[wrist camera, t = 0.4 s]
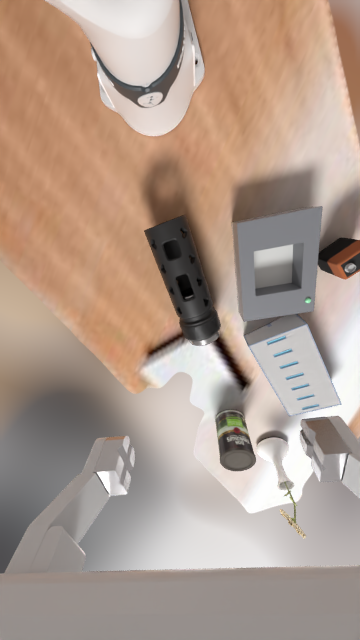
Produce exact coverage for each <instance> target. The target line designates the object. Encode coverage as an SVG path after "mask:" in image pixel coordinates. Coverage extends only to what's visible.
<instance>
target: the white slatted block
mask: <svg viewBox="0 0 360 640" xmlns="http://www.w3.org/2000/svg"><path fill="white" fill-rule="evenodd" d="M244 338H245V340H246V342H247V345H248V347H249V348H250V350H251V352H252V353H253V355H254V357H255V359H256V360H257V362H258V364H259V365H260V367H261V369H262V371H263V372H264V374H265V376H266V377H267V379H268V381H269V383H270V384H271V386H272V388H273V389H274V391H275V393H276V395H277V396H278V398H279V400H280V401H281V403H282V405H283V407H284V408H285V410H286V412H287V413H288V415H289V416H293V415H297V414H302V413H306V412H310V411H315V410H319V409H323V408H328V407H332V406H336V405H341V402H340V399H339V397H338V395H337V392H336V390H335V388H334V385H333V383H332V381H331V378H330V376H329V374H328V371H327V369H326V367H325V364H324V362H323V360H322V357H321V355H320V353H319V350H318V348H317V345H316V343H315V341H314V338H313V336H312V334H311V331H310V329H309V327H308V324H307V323H306V322H305V321H304V320H303V319H302V318H301V317H299V316H298V315H297V314H292V315H286V316H284V317H282V318H280V319H278V320H275V321H273V322H271V323H270V324H268V325H265V326H263V327H261V328H259V329H257V330H255V331H253V332H251V333H249V334H247V335H245V336H244Z"/></svg>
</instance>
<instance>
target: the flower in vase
mask: <svg viewBox="0 0 360 640" xmlns="http://www.w3.org/2000/svg"><path fill="white" fill-rule="evenodd" d="M288 450H289V446H288V443H287V442H286V441H284V440H283V439H281V438H276V437H272V438H267V439H264V440H262V441H261V442H260V443H259V444H258V446H257V453H258V454H259V456H260V457H262V458H263V459H265V460H268V461H270V462H272V463H274V465H275V467H276V470H277V473H278V478H279V482H278V488H279V489H281V490H288V493H287V494H286V495H284V496H287V495H288V494H290V496H291V497H290V499H291V500H292V502H293V503H294V518H291V517H290V516H289V515H288V514H287V513H286V512H285V511H283V510H282V509H280V512H281V513H282V516H283V517H285V518H286V519H287V520H288V523H289V524H290V525H291V526H293V527H294V528H295V529H296V531H297V533H298V534H299V535H300V534H301V536H303V538H305V537H306V535H305V534H304V532H303V531H302V530H301V528H300V527H299V526H298V525H297V524H296V509H295V505H296V503H295V502H294V500H293V498H292V495H291V493H290V492H291V491H289V489H292V488H293V487H294V483H293V482H291V481H290V480H289V478H288V477H287V475H286V474H285V472H284V469H283V467H282V460H283V458H284V457H285V456H286V455H287V453H288ZM296 506H297V505H296Z"/></svg>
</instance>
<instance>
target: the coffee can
mask: <svg viewBox="0 0 360 640" xmlns="http://www.w3.org/2000/svg"><path fill="white" fill-rule="evenodd" d="M215 422H216V429H217V437H218V445H219V453H220V463H221V465H222V466H223V467H224V468H226V469H228V470H231V471H244V470H247V469H249V468H251V467H252V466H253V465H254V464H255V462H256V457H255V455H254V452H253V448H252V444H251V441H250V437H249V433H248V430H247V426H246V422H245V418H244V415H243V414H242V413H241V412H239V411H236V410H225V411H222V412H220V413H219V414H218V415H217V416H216V419H215Z"/></svg>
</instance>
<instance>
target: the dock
mask: <svg viewBox="0 0 360 640" xmlns="http://www.w3.org/2000/svg"><path fill="white" fill-rule="evenodd" d="M321 218H322V206H319V207H305V208H300V209H296V210H291V211H286V212H281V213H276V214H271V215H266V216H261V217H256V218H251V219H246V220H241V221H236V222H231V223H232V235H233V248H234V260H235V273H236V285H237V298H238V310H239V313H240V315H241V317H242V319H243V321H244V322H245V321H252V320H258V319H265V318H272V317H278V316H285V315H292V314H298V313H305V312H311V311H314V301H315V289H316V277H317V265H318V253H319V241H320V230H321Z"/></svg>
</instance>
